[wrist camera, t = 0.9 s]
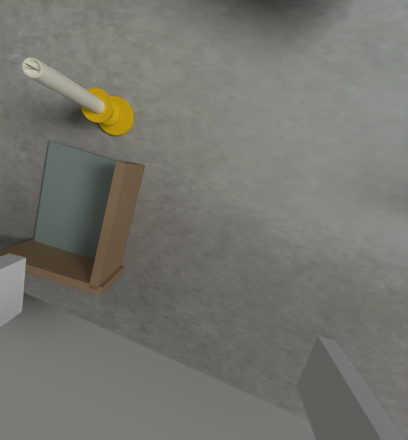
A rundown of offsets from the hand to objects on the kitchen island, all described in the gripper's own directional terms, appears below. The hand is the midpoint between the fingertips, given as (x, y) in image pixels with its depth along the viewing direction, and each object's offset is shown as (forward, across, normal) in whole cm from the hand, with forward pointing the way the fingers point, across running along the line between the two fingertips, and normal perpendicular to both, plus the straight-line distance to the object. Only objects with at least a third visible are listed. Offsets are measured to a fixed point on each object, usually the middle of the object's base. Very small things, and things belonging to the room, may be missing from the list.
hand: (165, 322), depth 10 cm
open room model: (+25, -18, -3) cm, 31 cm away
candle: (+25, -16, +11) cm, 32 cm away
